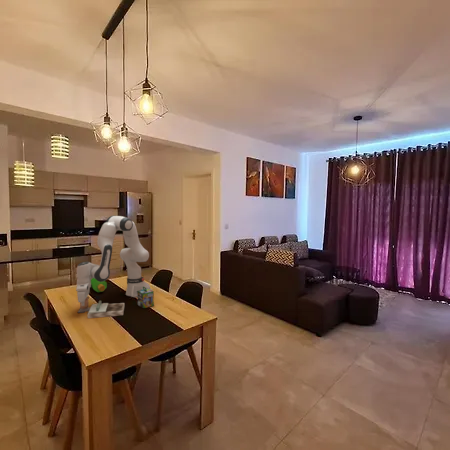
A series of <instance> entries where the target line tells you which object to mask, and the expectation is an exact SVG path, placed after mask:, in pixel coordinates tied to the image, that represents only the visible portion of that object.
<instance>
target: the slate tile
mask: <svg viewBox="0 0 450 450" xmlns="http://www.w3.org/2000/svg"><path fill="white" fill-rule="evenodd" d="M90 308H91V306H90V307H89V306H88V308H86V309H81V308H80V307H79V309H78V311H77V313H78V314H82V313H85V312H89V310H90Z"/></svg>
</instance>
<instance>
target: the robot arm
mask: <svg viewBox="0 0 450 450" xmlns="http://www.w3.org/2000/svg"><path fill="white" fill-rule="evenodd" d="M118 231H122V235H123V240H124V244H125V245H126V246H127V247H125V248H122V249H121V250H120V252H119V257H120V259H121V260H122V261H123V262H124V264H125V266H126V269H127V271H126V272H127V278H126V292H125V295H126V296H127V297H132V298H138V292H137V291H140V290H143V287H145V288H146V289H150V290H152V291H154V289H152V288H151V286H150V284H149V283H148V282H146V281H145V278H144V276H142V267H141V266H140V265H139V264H138V263H144V262H145V263H146V262H147V261H148V260H149V258H150V252H149V251H148V250H147V249H146V248H144V246H143V244H141V241H140V239H139V234H138V230H137V226H136V223H135V222H134V221H133V220H132V219H130V218H129V217H126V216H122V215H110V216H108V218H107V219H106V221H105V222H104V223H103V224H102V225H101V228H100V230H99V232H98V236H97V238H96V239H97V241H96V244H97V246H98V248H99V250H100V252H101V259H100V263H99V264H97V263H92V262H90V261H82V262H80V263H78V264H77V266H76V268H77V269H76V277H77V280H76V289H75V291H76V294H77V295H76V296H77V301H78V303H80V302H81V303H82V306H84V305H85V299H86V298H87V297H89V294H90V293H91V292H90V288H92V284H91V279H92V278H95V279H96V280H97V281H99V282H103V281H105V282H106V281H107V280H108V279H109V278H110V276H111V275H110V274H111V271H110V265H111V259H112V255H113V254H112V253H113V245H114V241H115V237H116V233H117V232H118ZM145 288H144V289H145Z"/></svg>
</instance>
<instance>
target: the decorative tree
mask: <svg viewBox="0 0 450 450" xmlns="http://www.w3.org/2000/svg"><path fill="white" fill-rule="evenodd" d="M107 285H108V284H107V281H106V280H105V281H103V282H99V281H97V280H96V279H95V278H92V279H91V288H92V289H93V291H95V292H97V293H102V292H104V291H105V290H106V289H107V287H108V286H107Z"/></svg>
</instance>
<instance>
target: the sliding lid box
mask: <svg viewBox="0 0 450 450" xmlns="http://www.w3.org/2000/svg"><path fill="white" fill-rule="evenodd" d="M124 311H125V302H120V303H108V306H107V309H106V312H100V313H89V311H87V319H95V318H106V317H117V316H118V317H119V316H124Z"/></svg>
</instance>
